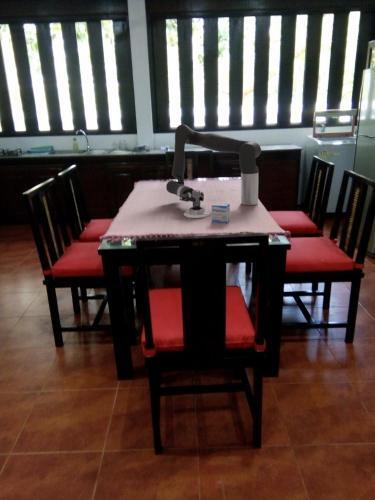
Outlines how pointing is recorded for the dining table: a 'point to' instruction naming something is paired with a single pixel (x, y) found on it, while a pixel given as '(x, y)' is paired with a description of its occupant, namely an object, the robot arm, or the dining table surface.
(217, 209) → the medicine box
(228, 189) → the dining table surface
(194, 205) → the steel pin
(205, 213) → the rosette plate
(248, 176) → the robot arm
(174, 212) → the dining table surface
